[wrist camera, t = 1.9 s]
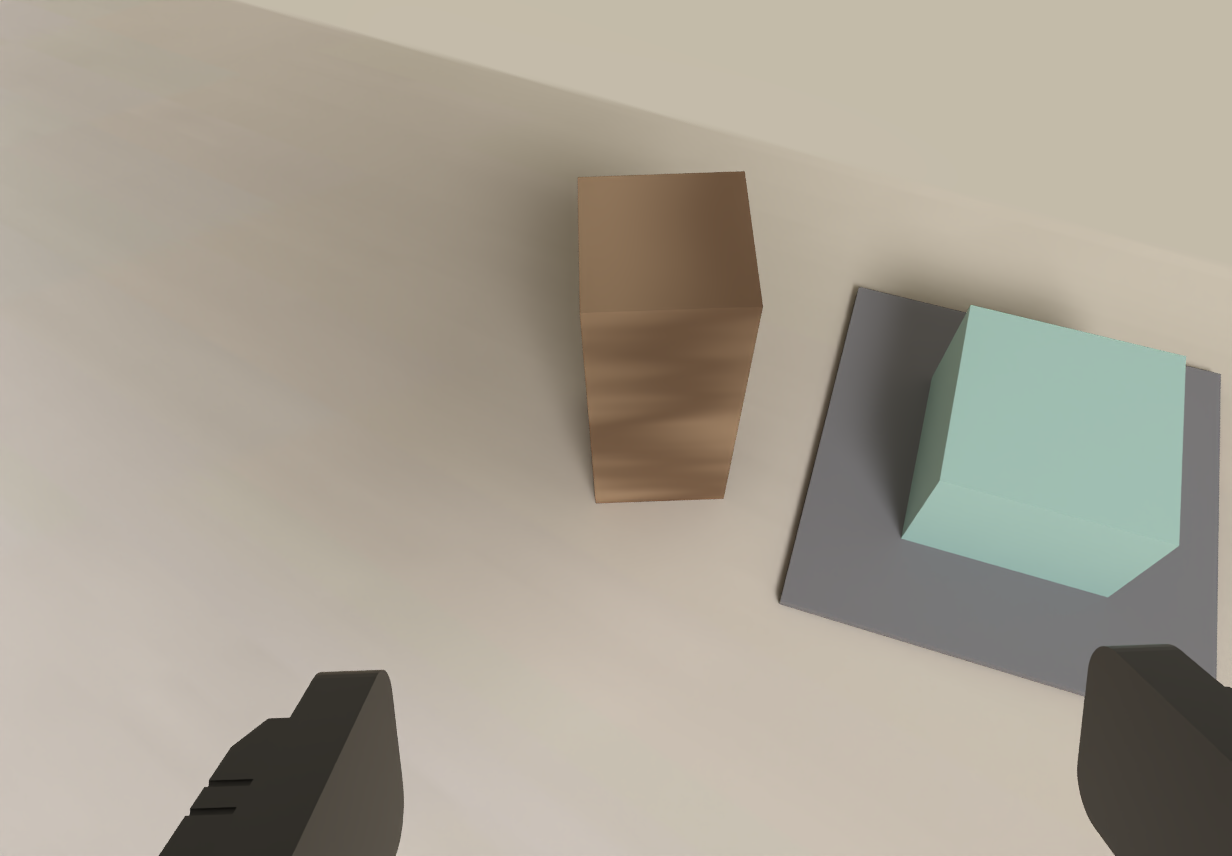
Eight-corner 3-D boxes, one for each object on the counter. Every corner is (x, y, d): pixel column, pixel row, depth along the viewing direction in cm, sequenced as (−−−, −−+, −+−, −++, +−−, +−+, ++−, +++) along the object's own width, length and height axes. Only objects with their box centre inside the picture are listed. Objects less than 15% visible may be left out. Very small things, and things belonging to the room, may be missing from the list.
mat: (779, 603, 27) (780, 600, 27) (857, 292, 33) (859, 286, 32) (1209, 734, 25) (1215, 731, 25) (1215, 378, 31) (1220, 374, 30)
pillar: (595, 503, 29) (579, 313, 20) (593, 393, 31) (577, 177, 22) (723, 498, 29) (763, 306, 20) (712, 389, 31) (744, 171, 22)
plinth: (900, 538, 28) (940, 480, 24) (931, 377, 31) (970, 304, 27) (1107, 597, 27) (1179, 545, 23) (1120, 425, 30) (1185, 356, 26)
